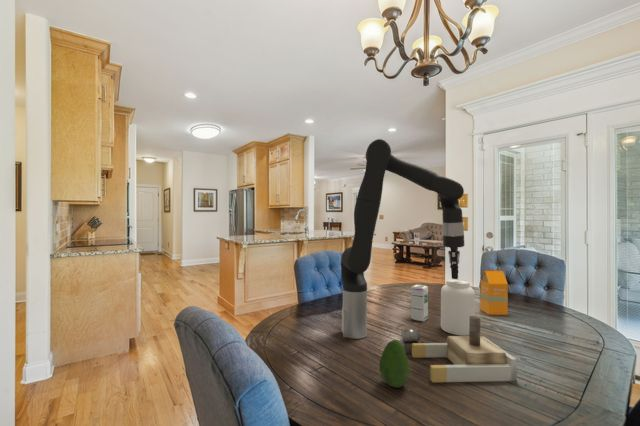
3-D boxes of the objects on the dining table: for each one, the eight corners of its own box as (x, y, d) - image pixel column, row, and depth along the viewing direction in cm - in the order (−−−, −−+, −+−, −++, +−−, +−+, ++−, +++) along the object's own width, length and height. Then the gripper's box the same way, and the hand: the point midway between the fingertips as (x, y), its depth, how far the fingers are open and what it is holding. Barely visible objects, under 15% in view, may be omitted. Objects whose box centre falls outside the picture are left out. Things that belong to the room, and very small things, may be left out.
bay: (432, 382, 84) (432, 360, 84) (411, 355, 100) (412, 337, 100) (516, 380, 85) (516, 359, 85) (483, 354, 101) (483, 336, 101)
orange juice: (507, 315, 142) (508, 272, 142) (488, 314, 142) (489, 271, 142) (498, 309, 150) (498, 269, 150) (480, 309, 150) (480, 268, 150)
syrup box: (424, 321, 132) (424, 288, 132) (410, 319, 135) (411, 286, 135) (428, 318, 136) (428, 285, 136) (415, 315, 140) (415, 283, 140)
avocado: (404, 377, 87) (404, 335, 87) (413, 393, 79) (413, 347, 79) (376, 377, 86) (376, 335, 86) (382, 394, 78) (383, 347, 78)
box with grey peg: (467, 378, 86) (467, 324, 87) (447, 357, 99) (447, 311, 99) (505, 377, 87) (505, 324, 87) (480, 357, 99) (481, 311, 99)
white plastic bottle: (479, 338, 115) (479, 284, 115) (443, 335, 117) (444, 283, 117) (469, 326, 127) (470, 278, 127) (438, 323, 130) (438, 276, 130)
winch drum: (403, 352, 102) (404, 331, 102) (400, 347, 106) (400, 327, 106) (421, 352, 102) (421, 331, 102) (417, 347, 106) (417, 327, 106)
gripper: (443, 232, 125) (445, 271, 126) (441, 236, 112) (443, 280, 113) (463, 232, 122) (465, 272, 122) (464, 236, 109) (466, 281, 110)
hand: (455, 276), depth 118 cm, fingers open, 8 cm apart
